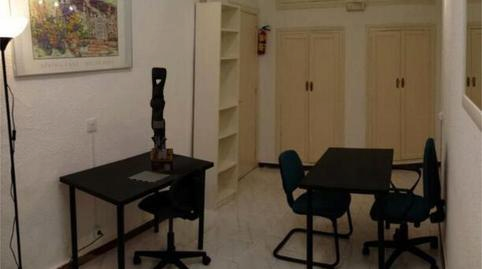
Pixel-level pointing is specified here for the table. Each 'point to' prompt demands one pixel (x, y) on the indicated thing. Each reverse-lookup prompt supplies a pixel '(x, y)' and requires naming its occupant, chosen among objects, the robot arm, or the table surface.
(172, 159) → the supplement box
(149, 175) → the mat
